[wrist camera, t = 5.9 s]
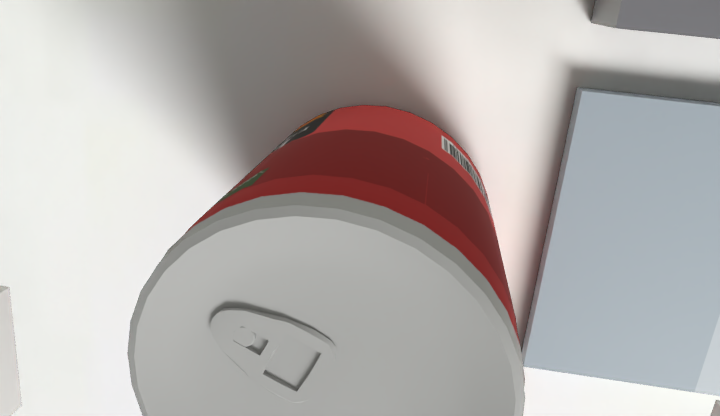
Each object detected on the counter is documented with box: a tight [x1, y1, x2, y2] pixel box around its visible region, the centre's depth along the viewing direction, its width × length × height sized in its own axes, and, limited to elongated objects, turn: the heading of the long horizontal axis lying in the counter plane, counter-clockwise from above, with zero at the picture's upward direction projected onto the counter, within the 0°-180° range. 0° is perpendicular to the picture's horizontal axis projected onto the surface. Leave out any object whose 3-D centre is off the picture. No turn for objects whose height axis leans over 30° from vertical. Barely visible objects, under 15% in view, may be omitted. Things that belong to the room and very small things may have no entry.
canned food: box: [128, 105, 525, 416], centre depth 17 cm, size 8×8×11 cm
